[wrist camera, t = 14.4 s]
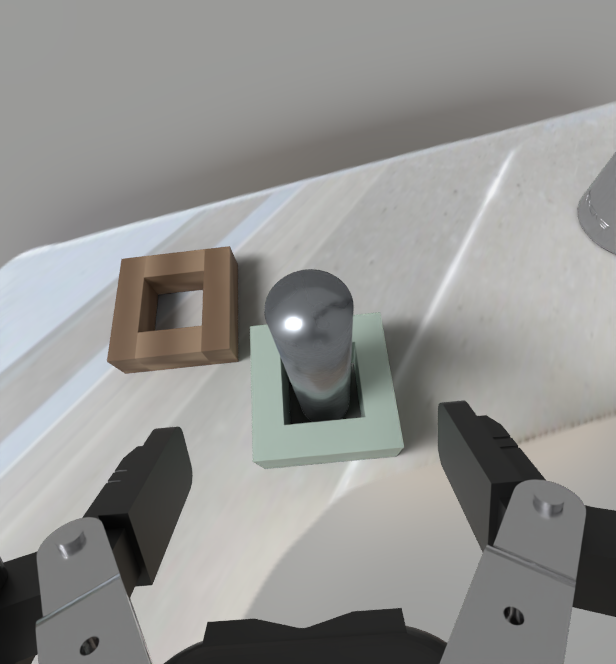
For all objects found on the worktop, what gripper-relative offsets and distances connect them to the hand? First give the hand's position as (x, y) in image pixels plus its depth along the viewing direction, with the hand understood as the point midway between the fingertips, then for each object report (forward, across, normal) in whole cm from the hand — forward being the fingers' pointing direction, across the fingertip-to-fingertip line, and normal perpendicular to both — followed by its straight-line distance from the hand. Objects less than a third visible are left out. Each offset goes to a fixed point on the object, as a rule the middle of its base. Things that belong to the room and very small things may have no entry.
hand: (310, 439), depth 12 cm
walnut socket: (+24, +12, +2) cm, 27 cm away
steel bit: (+18, 0, +9) cm, 20 cm away
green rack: (+18, 0, +9) cm, 20 cm away
